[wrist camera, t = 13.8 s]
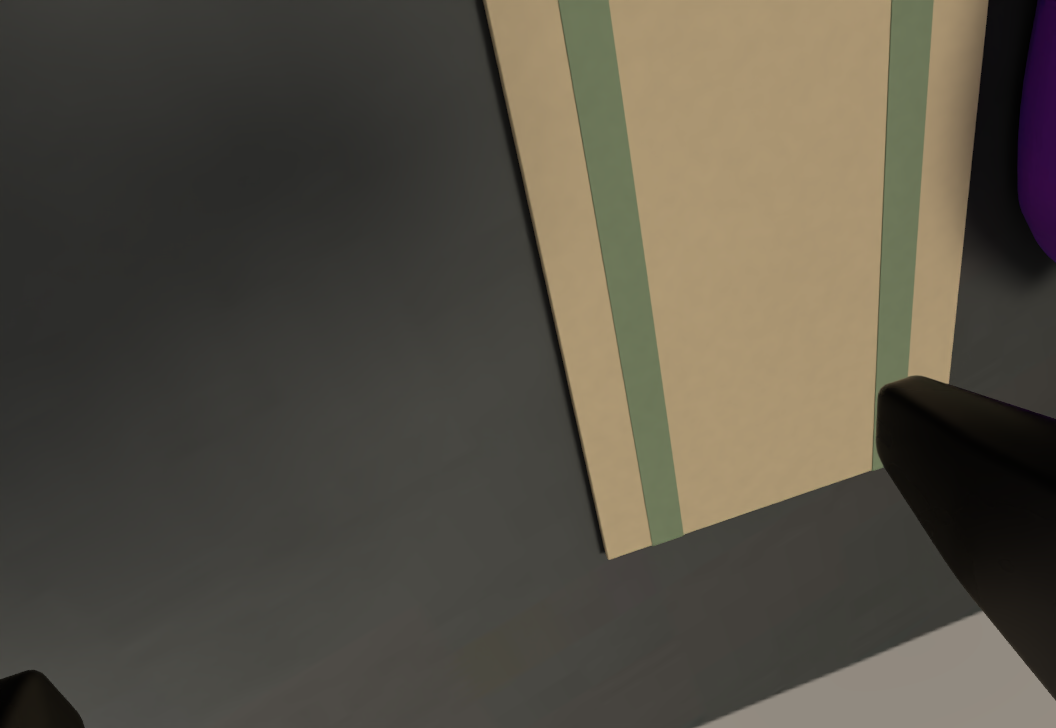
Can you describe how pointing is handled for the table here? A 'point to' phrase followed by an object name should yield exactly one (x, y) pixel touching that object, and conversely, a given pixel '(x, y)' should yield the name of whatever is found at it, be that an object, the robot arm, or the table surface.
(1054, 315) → the table surface
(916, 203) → the cloth
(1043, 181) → the purple long tapered piece
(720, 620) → the table surface
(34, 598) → the table surface
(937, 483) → the robot arm
